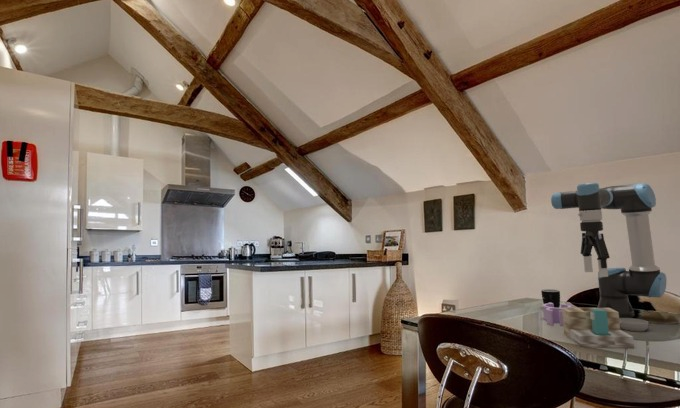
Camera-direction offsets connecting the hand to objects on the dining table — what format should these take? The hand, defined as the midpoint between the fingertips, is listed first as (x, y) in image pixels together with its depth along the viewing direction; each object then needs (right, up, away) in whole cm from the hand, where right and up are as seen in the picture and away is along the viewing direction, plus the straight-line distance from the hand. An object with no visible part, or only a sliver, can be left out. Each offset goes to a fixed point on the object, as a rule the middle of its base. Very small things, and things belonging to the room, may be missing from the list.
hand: (595, 274), depth 150 cm
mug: (+14, -30, +56) cm, 65 cm away
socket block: (+1, -27, +1) cm, 27 cm away
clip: (+4, -29, +33) cm, 44 cm away
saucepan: (+23, -27, +14) cm, 38 cm away
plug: (0, -25, -3) cm, 26 cm away
